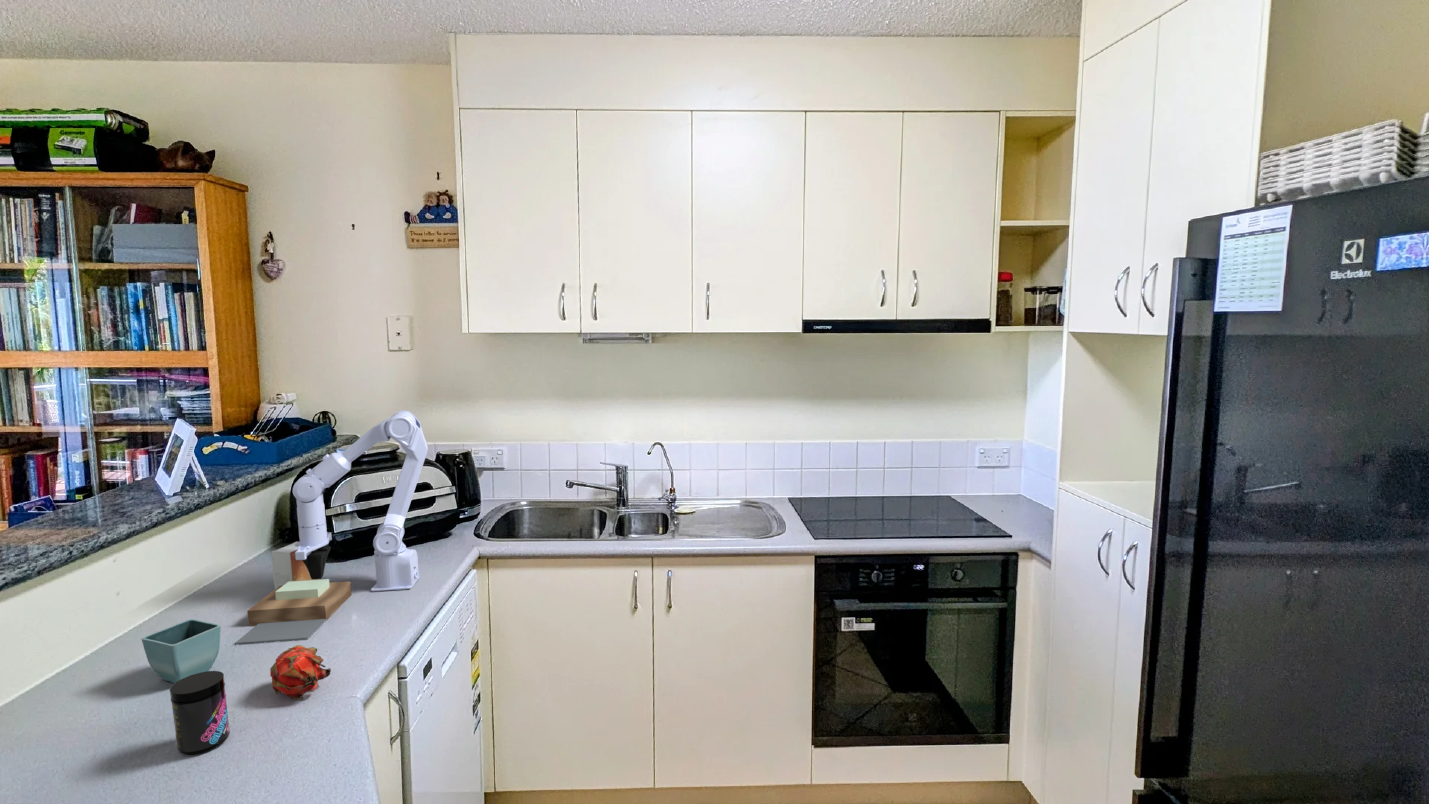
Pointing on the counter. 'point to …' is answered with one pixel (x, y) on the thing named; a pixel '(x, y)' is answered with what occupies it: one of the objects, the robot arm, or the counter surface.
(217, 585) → the counter surface
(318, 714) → the counter surface
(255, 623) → the brown flat block
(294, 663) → the dragon fruit
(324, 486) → the robot arm
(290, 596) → the sage green block
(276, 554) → the small box
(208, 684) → the supplement container
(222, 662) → the counter surface
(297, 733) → the counter surface
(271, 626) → the mat
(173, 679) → the flower pot
